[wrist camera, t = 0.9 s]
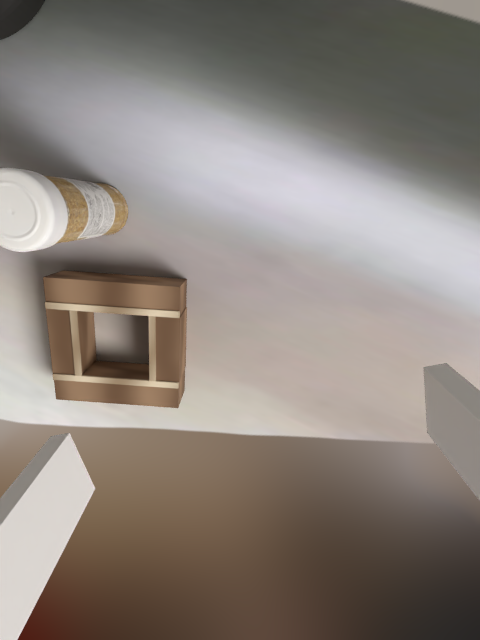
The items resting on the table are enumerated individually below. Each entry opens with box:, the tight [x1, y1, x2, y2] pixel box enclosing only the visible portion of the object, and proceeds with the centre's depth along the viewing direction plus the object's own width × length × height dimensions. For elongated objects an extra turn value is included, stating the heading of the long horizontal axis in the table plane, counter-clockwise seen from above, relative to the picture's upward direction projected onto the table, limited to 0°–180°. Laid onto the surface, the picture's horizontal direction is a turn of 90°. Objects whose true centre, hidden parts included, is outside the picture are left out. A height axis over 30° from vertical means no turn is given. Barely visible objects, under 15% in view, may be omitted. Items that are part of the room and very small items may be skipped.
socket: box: [43, 270, 187, 408], centre depth 34 cm, size 12×12×4 cm
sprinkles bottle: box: [0, 168, 128, 252], centre depth 26 cm, size 5×5×13 cm
